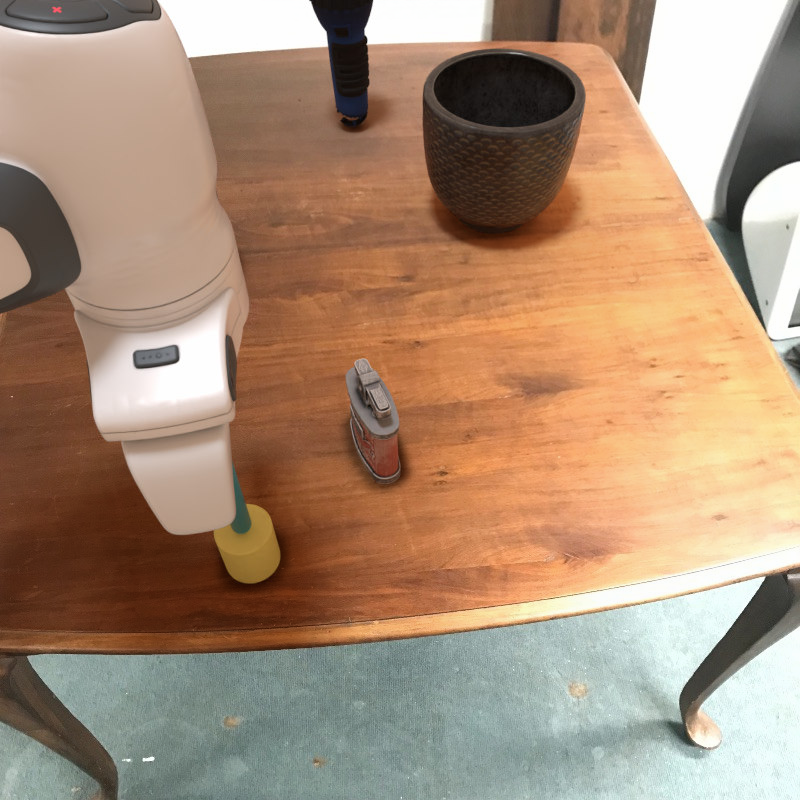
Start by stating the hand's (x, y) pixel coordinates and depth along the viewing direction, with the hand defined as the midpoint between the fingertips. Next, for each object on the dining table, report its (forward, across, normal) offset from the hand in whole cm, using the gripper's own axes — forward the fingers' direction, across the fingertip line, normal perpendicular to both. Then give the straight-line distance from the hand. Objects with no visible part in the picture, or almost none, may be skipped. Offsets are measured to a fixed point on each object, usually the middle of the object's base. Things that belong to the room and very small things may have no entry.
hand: (214, 442), depth 52 cm
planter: (+17, -41, +32) cm, 55 cm away
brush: (+17, 0, 0) cm, 17 cm away
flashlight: (+17, -63, +18) cm, 68 cm away
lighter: (+17, -9, +12) cm, 22 cm away
